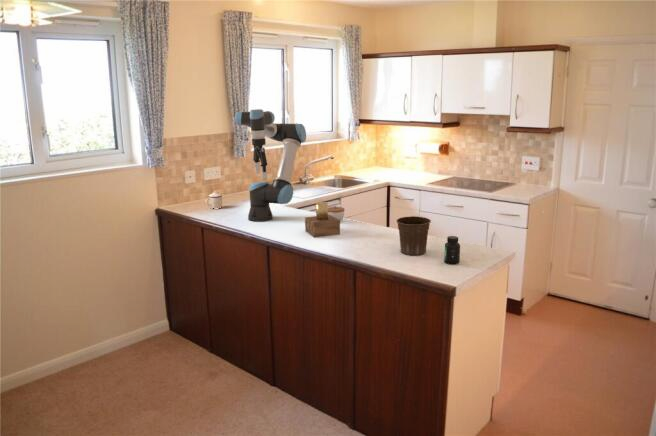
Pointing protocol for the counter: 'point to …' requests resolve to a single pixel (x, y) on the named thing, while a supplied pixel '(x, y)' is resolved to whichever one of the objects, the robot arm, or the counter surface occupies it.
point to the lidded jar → (336, 212)
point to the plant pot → (413, 234)
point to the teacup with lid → (215, 200)
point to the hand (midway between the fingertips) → (261, 175)
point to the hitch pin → (321, 210)
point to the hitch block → (322, 226)
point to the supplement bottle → (452, 251)
